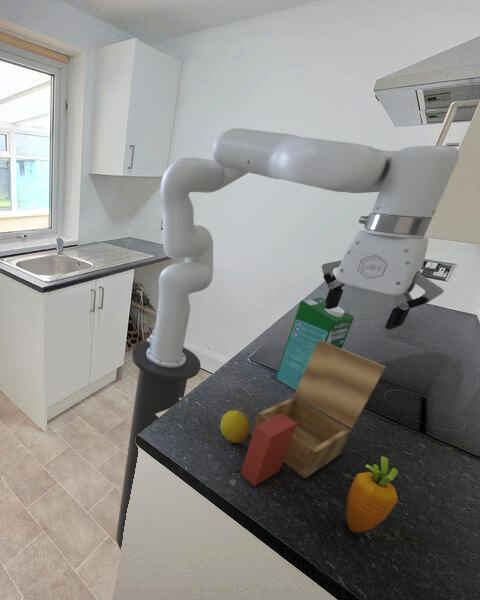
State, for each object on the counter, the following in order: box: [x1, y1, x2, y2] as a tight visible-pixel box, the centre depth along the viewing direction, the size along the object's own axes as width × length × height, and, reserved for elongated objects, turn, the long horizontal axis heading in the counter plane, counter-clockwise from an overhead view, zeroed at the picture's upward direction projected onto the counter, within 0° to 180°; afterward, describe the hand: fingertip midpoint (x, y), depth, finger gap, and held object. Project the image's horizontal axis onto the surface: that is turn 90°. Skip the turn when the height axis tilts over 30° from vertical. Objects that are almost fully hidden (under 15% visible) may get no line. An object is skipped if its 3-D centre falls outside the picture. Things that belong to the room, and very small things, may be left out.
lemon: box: [219, 410, 250, 444], centre depth 67 cm, size 6×6×8 cm
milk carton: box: [275, 297, 355, 391], centre depth 86 cm, size 9×9×25 cm
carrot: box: [345, 456, 399, 534], centre depth 49 cm, size 5×5×15 cm
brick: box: [239, 413, 297, 487], centre depth 59 cm, size 3×8×12 cm, turn 117°
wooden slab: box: [293, 340, 387, 429], centre depth 67 cm, size 14×12×1 cm
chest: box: [250, 396, 352, 479], centre depth 67 cm, size 14×12×7 cm
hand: (358, 317), depth 59 cm, fingers open, 9 cm apart
